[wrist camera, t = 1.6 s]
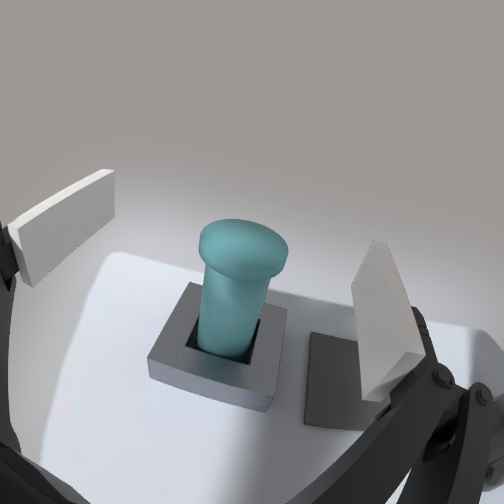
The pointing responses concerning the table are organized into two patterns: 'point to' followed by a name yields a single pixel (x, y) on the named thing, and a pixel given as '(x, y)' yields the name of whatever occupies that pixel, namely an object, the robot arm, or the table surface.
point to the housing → (216, 368)
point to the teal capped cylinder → (235, 283)
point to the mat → (337, 386)
